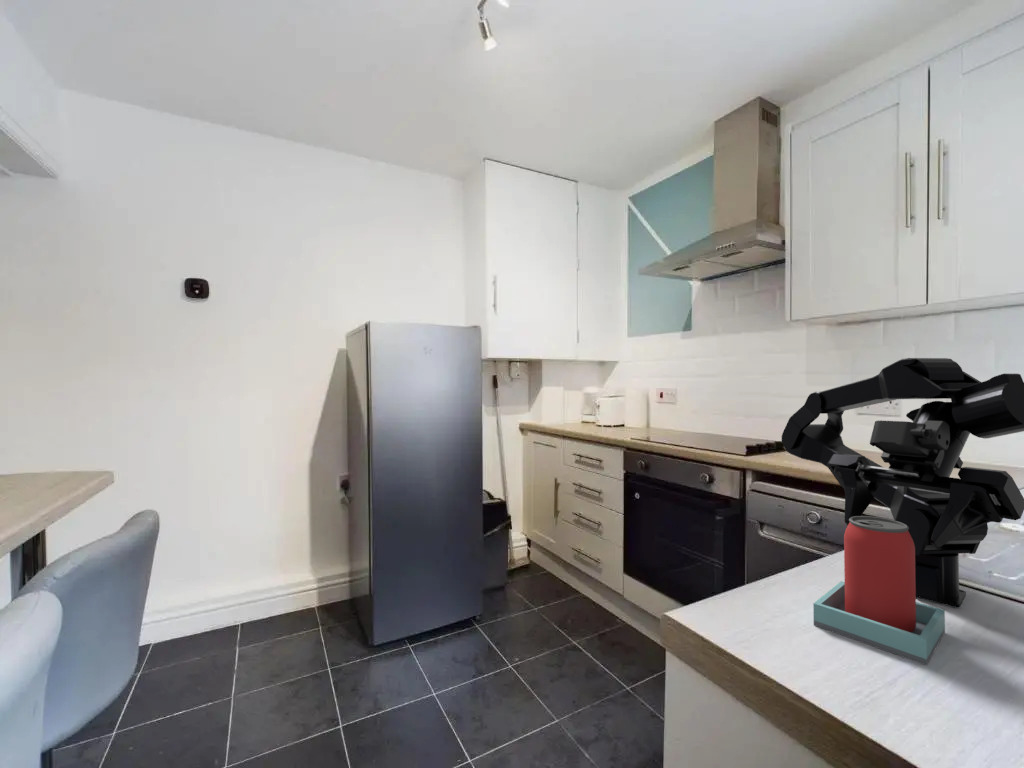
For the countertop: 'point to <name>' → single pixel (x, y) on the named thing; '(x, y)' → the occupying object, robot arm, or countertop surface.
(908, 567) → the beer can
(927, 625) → the tray
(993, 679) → the countertop surface
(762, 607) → the countertop surface
